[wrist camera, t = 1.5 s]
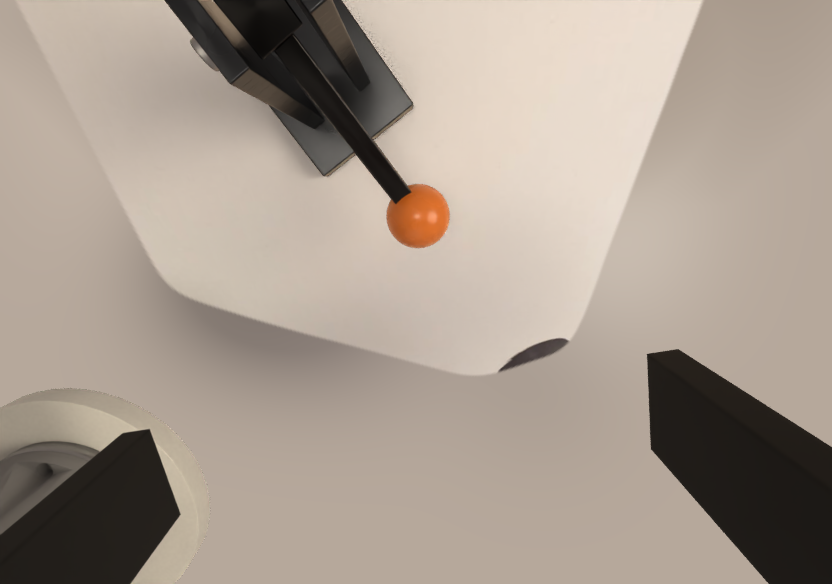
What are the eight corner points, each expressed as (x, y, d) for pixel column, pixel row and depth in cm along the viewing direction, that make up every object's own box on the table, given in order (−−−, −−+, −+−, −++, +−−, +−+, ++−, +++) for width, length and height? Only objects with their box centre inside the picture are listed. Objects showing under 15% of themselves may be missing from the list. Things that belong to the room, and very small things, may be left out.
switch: (449, 207, 26) (469, 232, 24) (403, 242, 27) (417, 270, 24) (266, -56, 18) (262, -68, 15) (203, 3, 18) (188, 4, 15)
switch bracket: (414, 107, 30) (409, 36, 16) (327, 177, 31) (250, 170, 17) (324, -22, 28) (226, -237, 14) (235, 57, 29) (61, -64, 15)
